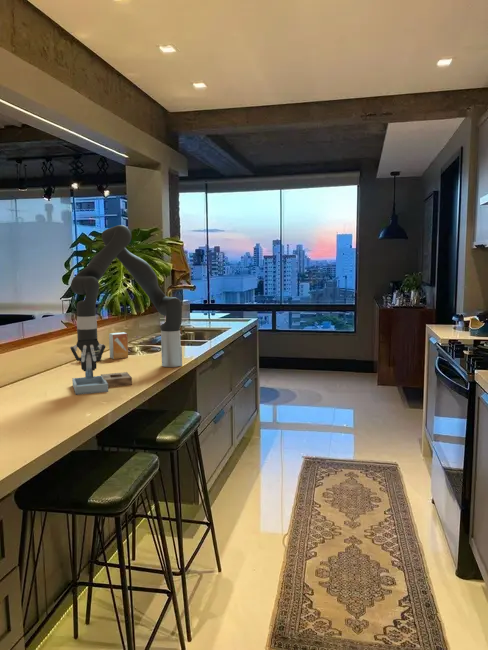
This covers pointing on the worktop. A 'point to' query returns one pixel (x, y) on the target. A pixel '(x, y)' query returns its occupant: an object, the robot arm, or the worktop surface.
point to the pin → (88, 366)
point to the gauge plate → (117, 379)
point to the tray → (89, 385)
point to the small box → (118, 345)
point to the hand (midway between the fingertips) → (88, 370)
